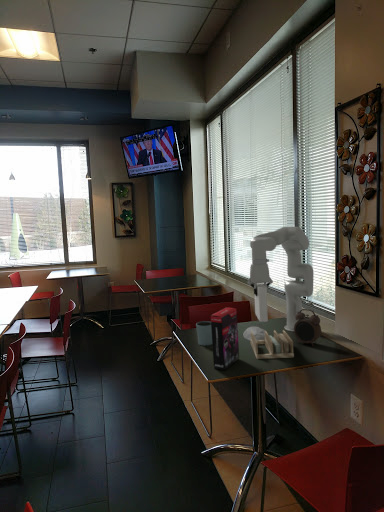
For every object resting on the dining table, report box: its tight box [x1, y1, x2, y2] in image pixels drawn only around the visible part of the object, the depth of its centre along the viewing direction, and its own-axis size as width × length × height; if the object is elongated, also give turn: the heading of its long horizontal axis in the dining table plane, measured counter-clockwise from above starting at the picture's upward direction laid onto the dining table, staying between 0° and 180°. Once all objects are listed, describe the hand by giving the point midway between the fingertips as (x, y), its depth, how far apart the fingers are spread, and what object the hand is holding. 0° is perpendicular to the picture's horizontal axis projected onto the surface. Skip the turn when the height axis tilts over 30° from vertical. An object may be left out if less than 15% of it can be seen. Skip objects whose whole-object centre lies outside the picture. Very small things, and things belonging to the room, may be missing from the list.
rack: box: [250, 329, 295, 360], centre depth 201 cm, size 19×22×8 cm
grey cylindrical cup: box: [195, 320, 212, 346], centre depth 217 cm, size 10×10×12 cm
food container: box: [242, 325, 269, 342], centre depth 225 cm, size 16×25×7 cm, turn 16°
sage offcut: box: [269, 335, 281, 354], centre depth 201 cm, size 2×16×6 cm, turn 6°
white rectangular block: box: [254, 283, 269, 323], centre depth 199 cm, size 4×16×18 cm, turn 179°
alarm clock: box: [294, 308, 322, 347], centre depth 208 cm, size 15×7×20 cm, turn 47°
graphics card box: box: [210, 307, 240, 371], centre depth 184 cm, size 17×7×27 cm, turn 148°
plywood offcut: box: [277, 333, 289, 353], centre depth 201 cm, size 2×15×7 cm, turn 179°
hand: (260, 295), depth 198 cm, fingers closed on white rectangular block, 4 cm apart
